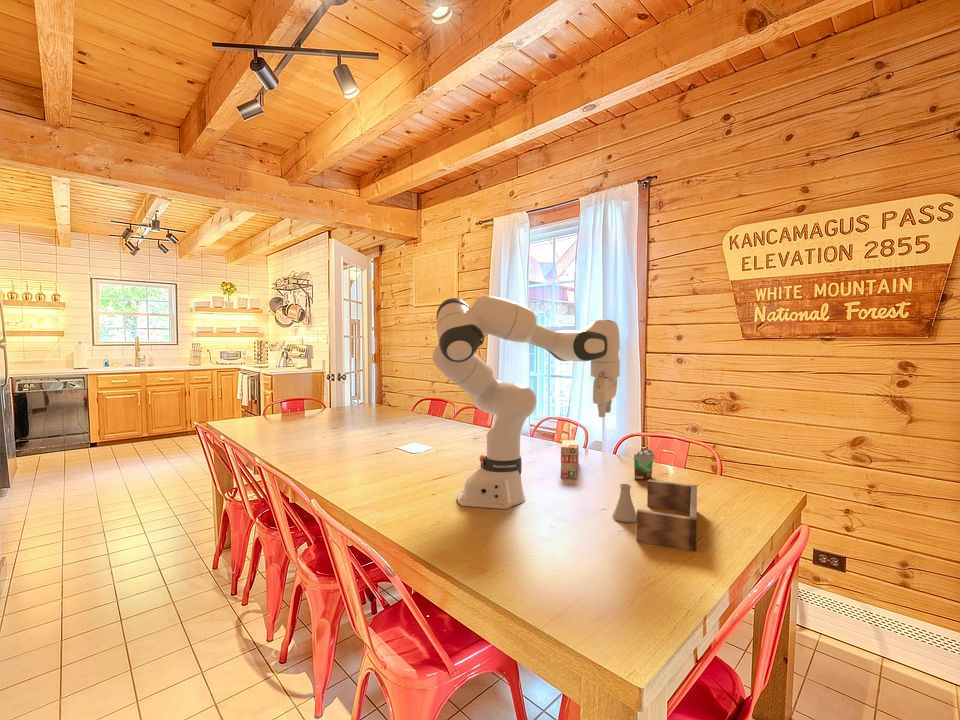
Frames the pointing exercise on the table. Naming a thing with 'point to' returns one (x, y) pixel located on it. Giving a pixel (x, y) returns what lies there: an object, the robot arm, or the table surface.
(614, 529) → the table surface
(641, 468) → the food container
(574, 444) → the stack of blocks
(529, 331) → the robot arm
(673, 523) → the u-shaped enclosure
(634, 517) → the flask
